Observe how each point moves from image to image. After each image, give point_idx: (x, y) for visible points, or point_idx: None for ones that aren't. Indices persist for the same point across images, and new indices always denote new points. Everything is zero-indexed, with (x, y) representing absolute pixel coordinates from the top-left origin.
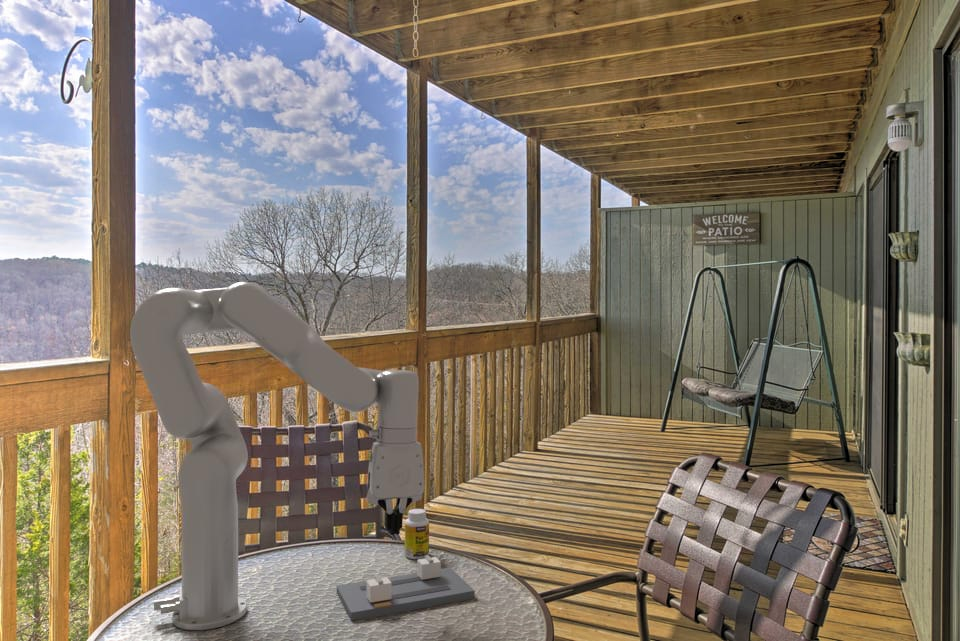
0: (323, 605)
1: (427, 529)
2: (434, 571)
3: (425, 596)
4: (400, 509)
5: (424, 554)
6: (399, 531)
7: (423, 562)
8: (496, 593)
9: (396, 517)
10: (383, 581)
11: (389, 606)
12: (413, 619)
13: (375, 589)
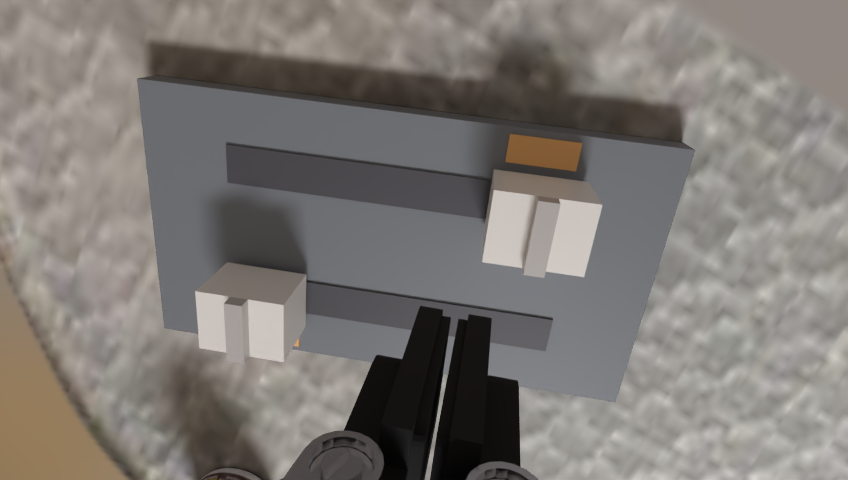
0: (699, 321)
1: None
2: (242, 278)
3: (347, 135)
4: (360, 477)
5: (216, 475)
6: (420, 314)
7: (268, 322)
8: (61, 73)
9: (431, 409)
10: (520, 224)
11: (521, 127)
12: (455, 22)
13: (573, 195)
